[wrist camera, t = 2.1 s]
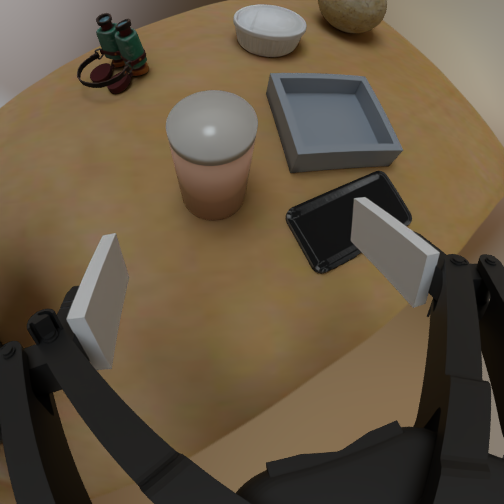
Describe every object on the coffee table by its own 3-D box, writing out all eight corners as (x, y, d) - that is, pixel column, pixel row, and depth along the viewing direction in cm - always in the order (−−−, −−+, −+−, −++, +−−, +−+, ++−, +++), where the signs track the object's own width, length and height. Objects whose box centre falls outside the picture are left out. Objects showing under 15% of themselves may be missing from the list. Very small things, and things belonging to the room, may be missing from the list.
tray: (290, 173, 35) (297, 154, 31) (266, 93, 38) (270, 73, 34) (388, 166, 37) (403, 150, 33) (355, 94, 40) (365, 76, 36)
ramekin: (222, 31, 42) (223, 7, 37) (281, 24, 44) (285, 1, 39) (247, 67, 39) (251, 40, 34) (311, 57, 41) (319, 34, 36)
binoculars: (52, 48, 26) (107, 5, 28) (80, 92, 37) (125, 51, 39) (85, 62, 26) (147, 14, 27) (113, 111, 36) (161, 66, 38)
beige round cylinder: (185, 225, 32) (168, 165, 20) (179, 168, 34) (164, 96, 22) (251, 214, 33) (266, 152, 21) (239, 160, 35) (248, 86, 23)
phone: (282, 211, 33) (382, 168, 36) (281, 215, 34) (378, 172, 37) (319, 276, 31) (415, 221, 34) (316, 278, 32) (410, 224, 35)
